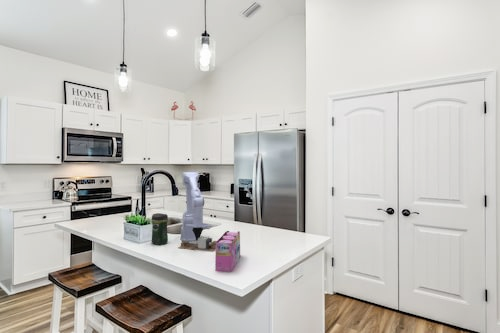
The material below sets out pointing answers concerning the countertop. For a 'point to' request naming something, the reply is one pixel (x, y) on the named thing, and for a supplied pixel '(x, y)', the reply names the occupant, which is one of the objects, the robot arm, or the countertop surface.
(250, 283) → the countertop surface
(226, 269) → the gum box
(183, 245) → the pipe stand
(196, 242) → the pipe
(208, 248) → the nut
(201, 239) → the sleeve
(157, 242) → the coffee jar
